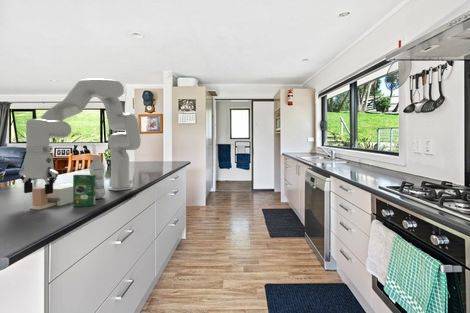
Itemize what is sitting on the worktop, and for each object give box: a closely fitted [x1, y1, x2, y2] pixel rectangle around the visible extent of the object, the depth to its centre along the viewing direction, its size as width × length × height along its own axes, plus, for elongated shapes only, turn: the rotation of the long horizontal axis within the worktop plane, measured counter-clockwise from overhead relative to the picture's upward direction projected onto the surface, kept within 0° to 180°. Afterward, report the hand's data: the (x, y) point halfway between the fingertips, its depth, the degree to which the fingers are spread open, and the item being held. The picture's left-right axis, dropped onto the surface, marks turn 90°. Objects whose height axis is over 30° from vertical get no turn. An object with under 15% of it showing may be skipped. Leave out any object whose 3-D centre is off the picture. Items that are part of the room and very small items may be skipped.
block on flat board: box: [29, 186, 57, 210], centre depth 117 cm, size 19×4×8 cm, turn 169°
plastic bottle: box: [88, 155, 106, 200], centre depth 128 cm, size 6×7×20 cm
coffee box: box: [72, 174, 96, 208], centre depth 113 cm, size 8×3×13 cm, turn 102°
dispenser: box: [48, 182, 73, 207], centre depth 121 cm, size 15×10×7 cm
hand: (38, 193), depth 109 cm, fingers open, 9 cm apart
